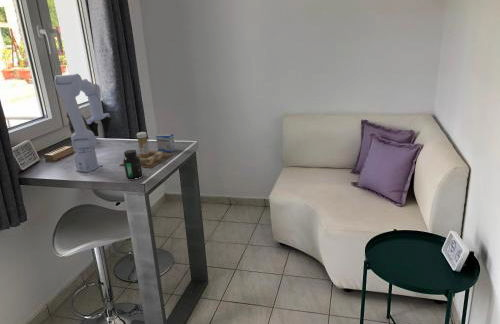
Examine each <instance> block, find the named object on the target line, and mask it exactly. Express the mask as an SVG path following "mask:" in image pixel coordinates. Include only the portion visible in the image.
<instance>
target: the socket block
mask: <svg viewBox="0 0 500 324" xmlns="http://www.w3.org/2000/svg"><path fill="white" fill-rule="evenodd" d="M149 154H150V157H149V158H141V155H140V153H139V154H137V155H136V156H138V157H139V158H140V163H141V167H144V168H143V169H153V168H155V167H156V166H158V165H159V164H161V163H163V162H164V161H165V160H167V159H169V158H170V157H173V154H172V153H171V154H170V153H169V154H166V153H164V152H163V151H158V150H149ZM119 167H124V162H122V163H121V164H119Z"/></svg>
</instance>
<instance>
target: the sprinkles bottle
mask: <svg viewBox="0 0 500 324" xmlns="http://www.w3.org/2000/svg"><path fill="white" fill-rule="evenodd" d="M147 135H148V134H147V132H145V131H140V132H137V133H136V137H137V142H138V148H139V154H140V155H141V158H149V157H150V154H149V151H150V148H149V142H148V136H147Z"/></svg>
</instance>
